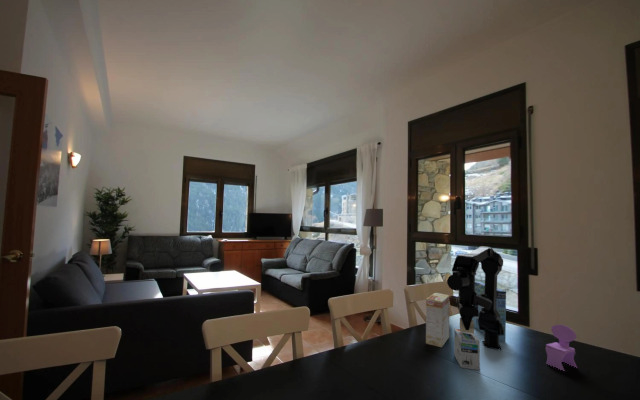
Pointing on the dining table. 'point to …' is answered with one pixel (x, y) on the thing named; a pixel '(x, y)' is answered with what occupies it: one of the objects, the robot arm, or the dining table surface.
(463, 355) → the light bulb box
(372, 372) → the dining table surface
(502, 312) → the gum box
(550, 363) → the toy chair
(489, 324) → the robot arm
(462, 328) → the birch block
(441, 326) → the coffeecake box
